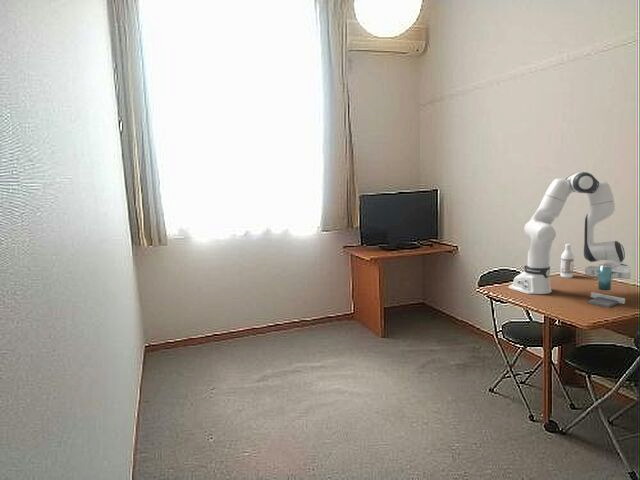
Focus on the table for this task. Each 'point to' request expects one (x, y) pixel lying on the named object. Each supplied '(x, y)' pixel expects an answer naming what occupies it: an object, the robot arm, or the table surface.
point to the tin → (605, 277)
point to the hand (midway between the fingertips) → (604, 275)
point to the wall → (608, 297)
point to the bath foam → (567, 262)
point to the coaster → (603, 302)
